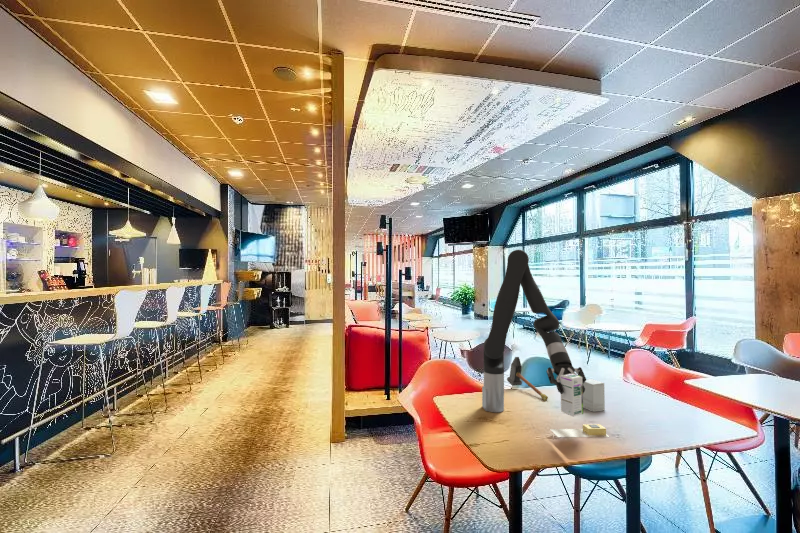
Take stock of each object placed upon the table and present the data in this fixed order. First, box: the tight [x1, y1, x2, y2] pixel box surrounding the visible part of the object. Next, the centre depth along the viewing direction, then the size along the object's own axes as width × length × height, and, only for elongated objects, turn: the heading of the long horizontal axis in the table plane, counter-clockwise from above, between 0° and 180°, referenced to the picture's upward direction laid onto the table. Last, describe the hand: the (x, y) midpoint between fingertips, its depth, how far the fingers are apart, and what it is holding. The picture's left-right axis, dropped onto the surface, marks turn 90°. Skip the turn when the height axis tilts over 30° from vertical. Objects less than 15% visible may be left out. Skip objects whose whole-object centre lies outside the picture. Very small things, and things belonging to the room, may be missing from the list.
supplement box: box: [583, 378, 606, 413], centre depth 172 cm, size 7×7×13 cm
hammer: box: [506, 356, 549, 401], centre depth 196 cm, size 6×16×30 cm
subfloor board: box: [549, 428, 610, 438], centre depth 142 cm, size 20×14×1 cm
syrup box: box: [560, 374, 584, 417], centre depth 142 cm, size 6×6×14 cm
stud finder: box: [582, 423, 607, 435], centre depth 142 cm, size 7×4×3 cm, turn 92°
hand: (572, 392), depth 141 cm, fingers closed on syrup box, 7 cm apart
